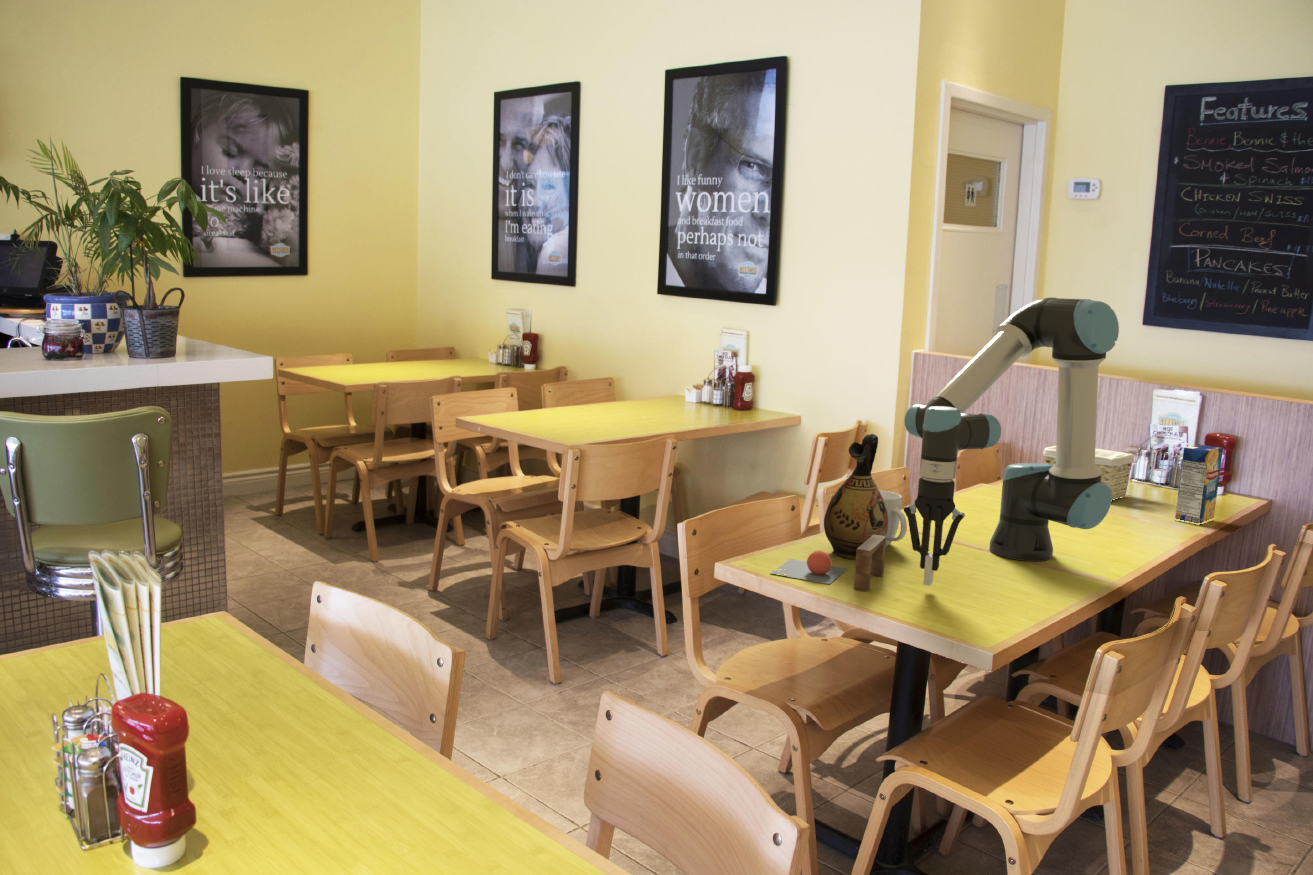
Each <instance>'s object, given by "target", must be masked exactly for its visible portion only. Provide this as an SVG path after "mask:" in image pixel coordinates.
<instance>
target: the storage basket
mask: <svg viewBox="0 0 1313 875" xmlns="http://www.w3.org/2000/svg"><path fill="white" fill-rule="evenodd" d="M1042 456H1043V457H1044V462H1043V463H1044V464H1051V465H1053V466H1054V465H1055V464H1056V445H1052V446H1046V447H1045V448H1044V449H1043V453H1042ZM1134 462H1135V455H1134V454H1133V453H1130V452H1129V453H1128V452H1121V451H1115V450H1110V449H1109V450H1108V449H1104V448H1103V449H1101V448H1096V447H1095V466H1096V467H1097V468H1098V469H1099V470H1100V471H1101V483H1104V484H1106V485H1107V486H1108V487H1109V489H1110V490H1111V494H1112V500H1113V499H1116V498H1120V497H1123V498H1125V497H1126V495H1127V490H1128V486H1129V480H1130V475H1131V470H1132V466H1133V463H1134ZM1113 501H1114V500H1113Z"/></svg>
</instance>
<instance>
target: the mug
mask: <svg viewBox="0 0 1313 875" xmlns="http://www.w3.org/2000/svg"><path fill="white" fill-rule="evenodd" d="M879 492H880V493H881V496H882V497H883V500H884V502H885V505H886V509H887V513H888V530H887V534H886V547H888V546H890V545H891V544H892V542H899V541H901V540H903V539H904V538H905V536H906V534H907V529H908V524H907V522H908V521H907V518H906V514H905V513H904V511H902V498H903V497H902V495H901V494H900V493H897V492H893V491H889V490H882V489H879ZM899 525H900V526H899ZM899 527H900V530H899V534H898V536H897V537H896V534H897V533H898V529H899Z"/></svg>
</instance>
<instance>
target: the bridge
mask: <svg viewBox="0 0 1313 875" xmlns="http://www.w3.org/2000/svg"><path fill="white" fill-rule="evenodd" d="M886 548H887V546H886V536H881V535H874V534H873V535H872V536H871V537H870V538H869V539H868V540H866V541H865V542H864V543H863V544H862V545H861V546H859V547H858V548H857V551H856V559H855V567H854V580H853V590H856V591H861V592H869V590H870V587H871V576H872V577H877V576H878V577H879V578H882V577H883V576H884V574H885V573H884V570H885V569H884V568H885V560H886V559H885V558H886V557H885V556H886Z"/></svg>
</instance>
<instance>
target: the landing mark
mask: <svg viewBox="0 0 1313 875" xmlns="http://www.w3.org/2000/svg"><path fill="white" fill-rule="evenodd" d="M783 564H784V565H783ZM783 564H781V565H780V566H778V567H777V568H776V569H782V570H780V571H779V570H776V569H775V570H776V571H774V570H773V571H771V572H770V573H769V575H771V574H781V576H780V577H783V575H784V574H786V575H784V576H787V577H786V578H788V577H791V578H790V579H794V578H795V579H796V580H800V579H803V580H802V581H806V580H809V581H808V582H811V581H813V582H812V583H816V584H817V583H818V584H823V585H829V586H830V585H831V584H832V583H834V581H836V580H837V579H838V578H839V577H840V576H841V575H843V573H845V572H846V571H847V570H848V568H847V567H841V566H834V565H831V567H830V569H829V571H828V572H827V573H825V574H822V575H816V574H814V573H812V572H811V571H810V570H809V568H808V566H807V561H806V560H805V561H804V560H798V559H793V558H790V559H788V560H787V561H785V562H784V563H783ZM782 565H783V566H782ZM784 569H785V570H784ZM846 569H847V570H846ZM845 570H846V571H845ZM778 571H779V572H778ZM844 571H845V572H844ZM795 579H794V580H795ZM835 579H836V580H835Z"/></svg>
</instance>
